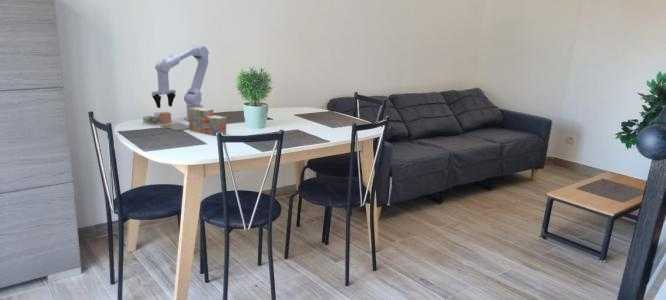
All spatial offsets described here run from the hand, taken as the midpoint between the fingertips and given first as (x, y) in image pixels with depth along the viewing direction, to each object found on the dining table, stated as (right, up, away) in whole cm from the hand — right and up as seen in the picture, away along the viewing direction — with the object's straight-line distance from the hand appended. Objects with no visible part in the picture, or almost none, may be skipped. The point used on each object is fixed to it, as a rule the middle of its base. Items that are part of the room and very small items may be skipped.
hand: (164, 107), depth 273 cm
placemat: (+10, -12, -6) cm, 17 cm away
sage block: (-9, -9, +1) cm, 13 cm away
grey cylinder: (-6, -8, +7) cm, 12 cm away
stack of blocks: (+29, -15, -16) cm, 36 cm away
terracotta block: (0, -9, +3) cm, 10 cm away
